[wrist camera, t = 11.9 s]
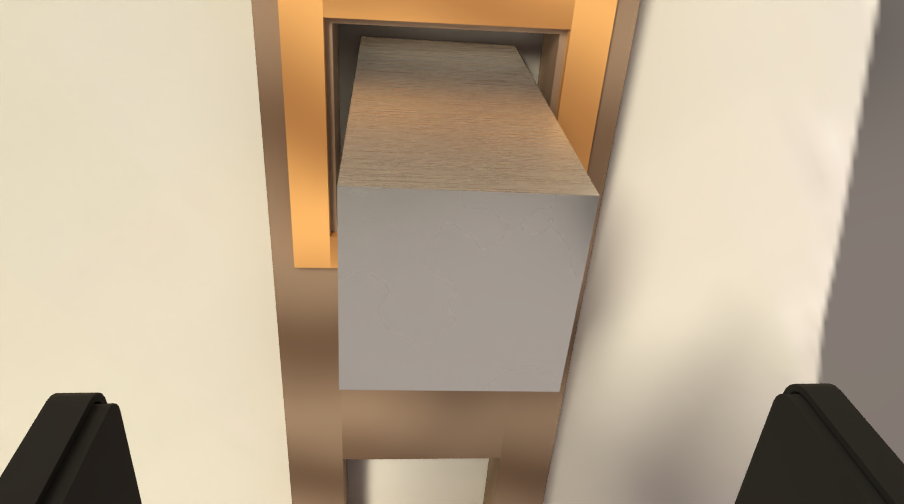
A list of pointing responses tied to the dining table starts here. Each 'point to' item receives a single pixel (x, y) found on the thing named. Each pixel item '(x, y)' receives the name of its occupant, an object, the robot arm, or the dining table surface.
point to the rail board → (316, 235)
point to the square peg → (456, 223)
